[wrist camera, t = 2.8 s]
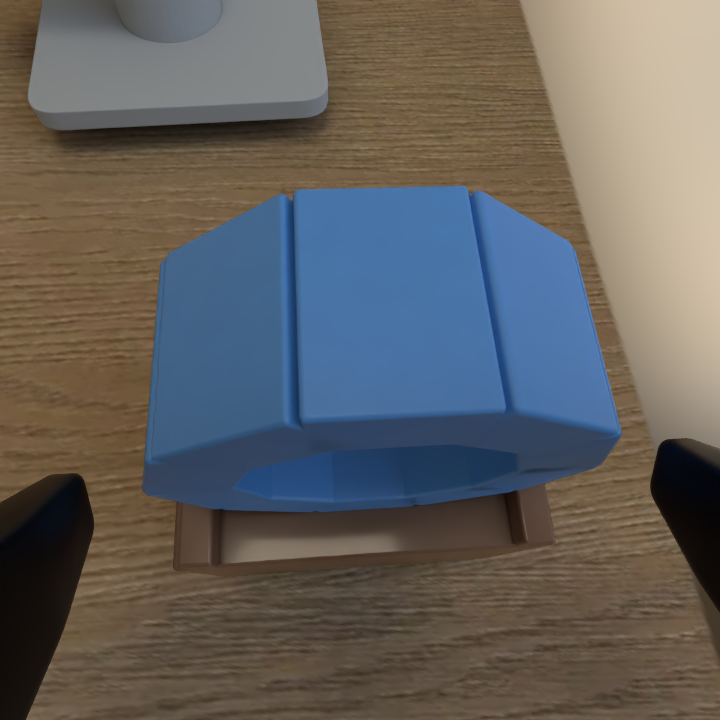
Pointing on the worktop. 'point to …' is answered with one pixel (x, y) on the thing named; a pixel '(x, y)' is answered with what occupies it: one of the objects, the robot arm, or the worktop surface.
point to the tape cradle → (359, 535)
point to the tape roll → (372, 356)
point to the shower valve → (176, 62)
